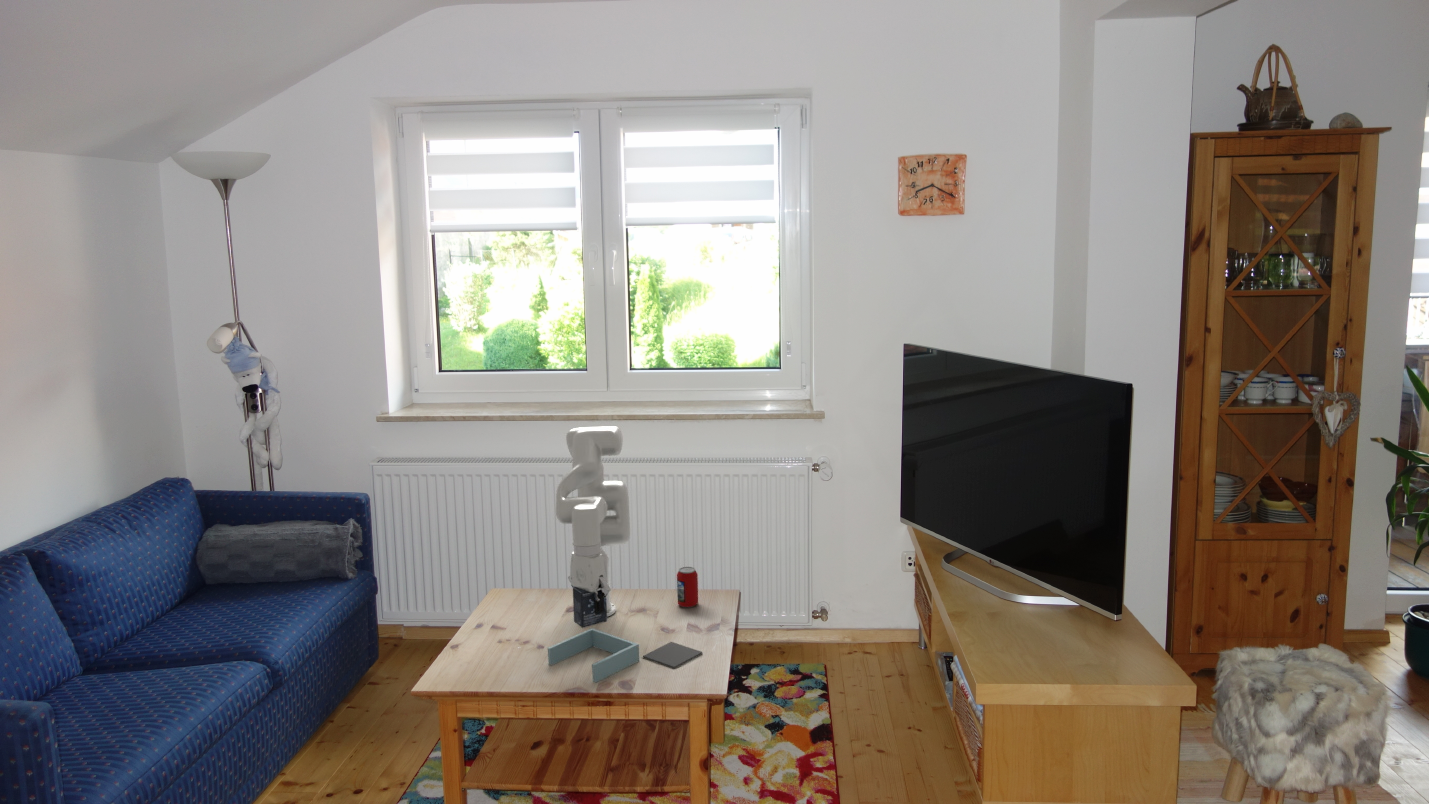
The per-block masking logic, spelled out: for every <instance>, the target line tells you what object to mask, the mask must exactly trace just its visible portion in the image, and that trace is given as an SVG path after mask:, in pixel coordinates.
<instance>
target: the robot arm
mask: <svg viewBox="0 0 1429 804" xmlns="http://www.w3.org/2000/svg"><path fill="white" fill-rule="evenodd" d="M565 440H566V441H565V442H566V445H567V450H568V451H569V453H570V455H571V458H572V466H571V468H572V469H571V470H570V471H568V473H566V474H565V475H564V477H563V478H562V479H561V481H560V482H559V484H558V486H557V489H556V494H555V498H556V499H555V516H556V520H557V521H558V522H559V523H560V524H561V525H562V524H564V525H571V528H572V531H571V532H572V546H573V549H572V550H573V551H572V552H571V556H570V566H569V567H570V568H569V575H568V577H567V579H568V581H569V583H570V585H571V588H573V587H576V588H579V589H582V590H585V591H588V592H592V593H593V594H594V597H595V599H596V600H595V601H594V611H595V614H596V615H597V614H599V613H602V612H604V598H605V597H606V603H607V618H608V617H609V616H610V617H611V616H612V615H614V614H615V613H616V611H617V606H616V605H615V604H614V603H612V602H611V601H612V600H611V590H612V589H611V586H610V585H611V583H610V581H611V579H610V561H609V559H610V558H609V556H608V554H607V553H606V551H605V550H604V549H603V548H602V547H604V546H606V547H608V546H610V547H611V546H621V545H622V546H623V545H625V544H627V543H628V542H629V541H630V538H631V522H630V521H631V519H630V503H629V502H630V501H629V492H628V487H627V485H626V483H625V482H623V481H621V480H605V474H604V473H605V470H604V465H603V463H602V457H611V456H612V457H613V456H619V455H620V454H621V451H622V448H623V433H622V430H621V428H619V427H618V426H616V425H615V426H611V425H609V426H584V427H575V428H572V429H570V430H568V431H567V433H566V436H565ZM576 490H577V496H570V497H569V495H570V494H571V493H573V492H575V491H576ZM608 512H614V513H615V514H612V515H611V514H609V515H608ZM597 591H599V592H600V594H599V595H598V592H597Z"/></svg>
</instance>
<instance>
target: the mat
mask: <svg viewBox="0 0 1429 804" xmlns="http://www.w3.org/2000/svg"><path fill="white" fill-rule="evenodd" d="M701 655H703V651H701V650H697V649H695V648H692V647H689V646H686V645H683V644H679V643H676V642H673V641H669V642H668V643H665V644H664V645H662V646H659V647H657V648H656V649H654V650H651V651H650V652H647V653H645V654H644V655H643V656H642V659H645V660H648V661H651V662H653V663H657V664H659V665H662V666H666V667H667V668H668V667H669V668H670V669H677V668H679V667H681V666H682V665H685V664H687V663H689V662H690V661H692V660H693V659H696V658H697V657H699V656H701Z"/></svg>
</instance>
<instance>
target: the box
mask: <svg viewBox="0 0 1429 804" xmlns="http://www.w3.org/2000/svg"><path fill="white" fill-rule="evenodd" d="M597 592H598V595H599V594H600V592H599V591H597ZM572 599H573V603H572V604H573V605H572V606H573V607H572V608H573V622H574V623H575V624H577V626H578V627H580V628H582V629H584V628H587V627H591V626H594V625H598V624H602V623H606V622H608V617H607V603H606V597H605V598H604V612H602V613H599V614H597V615H596V614H595V611H594V601H595V600H596V599H595V597H594V594H593V593H592V592H588V591H585V590H582V589H579V588H576V587H572Z"/></svg>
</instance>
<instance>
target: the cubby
mask: <svg viewBox="0 0 1429 804" xmlns="http://www.w3.org/2000/svg"><path fill="white" fill-rule="evenodd" d="M639 645H640V643H637V642H634V641H631V640H628V639H625V638H622V637H619V636H616V635H613V634H611V633H608V632H604V631H602V630H598V629H596V628H593V627H591V628H589V629H587V630H585V631H583V632H580V633H578V634H576V635H573V636H571V637H569V638H566V639H564V640H562V641H560V642H558V643H555V644H553V645H550V646H548V647H547V660H548V665H549V666H552V665H553V666H554V665H555V664H557V663H559V662H562V661H564V660H566V659H568V658H571V657H572V656H575V655H576V654H579V653H582V652H583V651H585V650H587V649H590V648H592V647H594V648H597V649H599V650H601V651H605V652H608V653H611V654H610V655H609V656H606V657H605V658H602V659H600V660H598V661H596V662H594V663H592V664H591V670H592V671H591V672H592V683H599V682H600V681H603V680H604V679H606V678H608V677H611V676H612V675H615V674H616V673H617V672H620V671H622V670H624V669H625V668H627V667H630V666H631V665H634V664H635V663H638V662H639V661H640V646H639Z"/></svg>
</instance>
